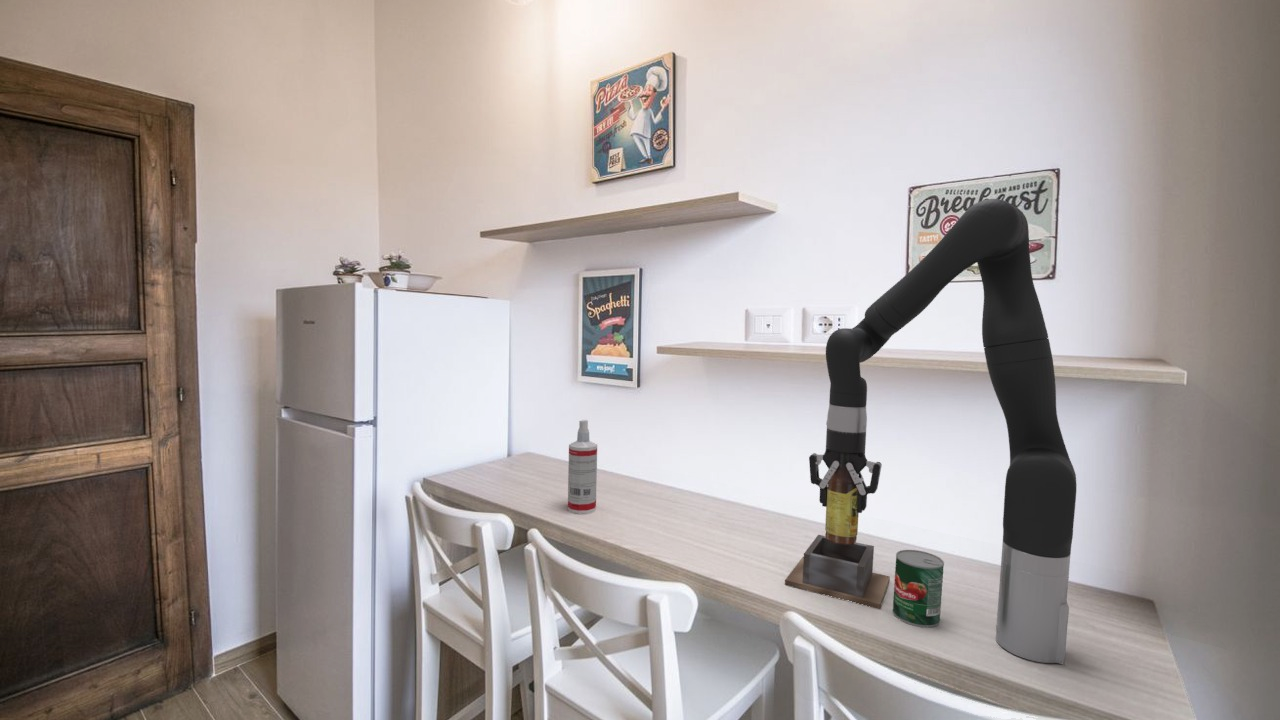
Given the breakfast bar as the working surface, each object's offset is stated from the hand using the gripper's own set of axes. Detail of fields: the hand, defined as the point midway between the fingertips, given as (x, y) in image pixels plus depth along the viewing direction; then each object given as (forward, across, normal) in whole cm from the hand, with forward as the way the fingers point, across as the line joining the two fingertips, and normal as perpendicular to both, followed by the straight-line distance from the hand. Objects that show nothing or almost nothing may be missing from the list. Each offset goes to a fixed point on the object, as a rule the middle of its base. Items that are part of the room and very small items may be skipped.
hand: (842, 508), depth 116 cm
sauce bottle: (+7, 0, 0) cm, 7 cm away
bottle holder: (+16, 0, 0) cm, 16 cm away
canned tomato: (+16, -15, +6) cm, 23 cm away
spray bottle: (+16, +70, -7) cm, 72 cm away
